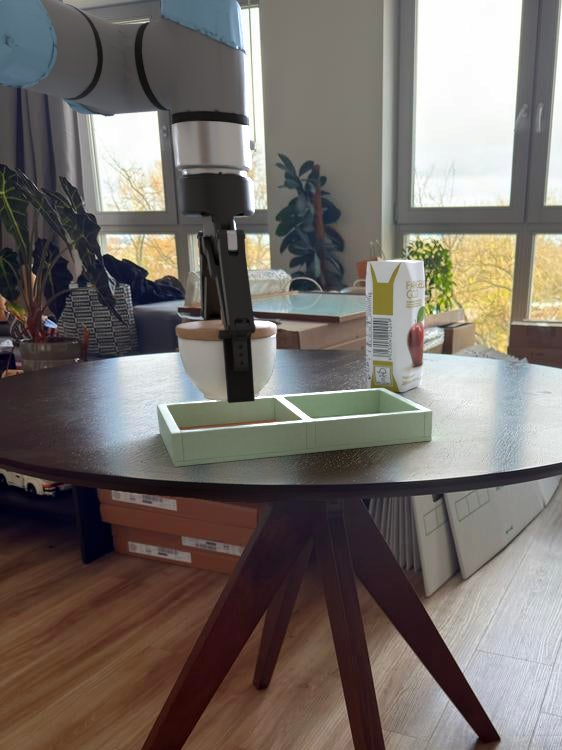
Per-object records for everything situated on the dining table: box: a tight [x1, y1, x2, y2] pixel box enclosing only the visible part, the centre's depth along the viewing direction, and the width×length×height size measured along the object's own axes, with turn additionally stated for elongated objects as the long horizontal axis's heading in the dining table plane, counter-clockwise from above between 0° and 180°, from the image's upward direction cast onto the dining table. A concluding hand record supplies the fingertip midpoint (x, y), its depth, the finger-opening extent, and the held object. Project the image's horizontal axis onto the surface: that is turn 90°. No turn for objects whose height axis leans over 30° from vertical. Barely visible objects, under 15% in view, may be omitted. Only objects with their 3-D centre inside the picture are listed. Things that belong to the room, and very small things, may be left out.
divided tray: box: [156, 388, 433, 468], centre depth 85 cm, size 29×15×4 cm, turn 112°
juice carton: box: [365, 259, 426, 393], centre depth 111 cm, size 8×9×19 cm
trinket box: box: [175, 313, 278, 401], centre depth 79 cm, size 11×11×9 cm
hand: (230, 391), depth 81 cm, fingers closed on trinket box, 11 cm apart
